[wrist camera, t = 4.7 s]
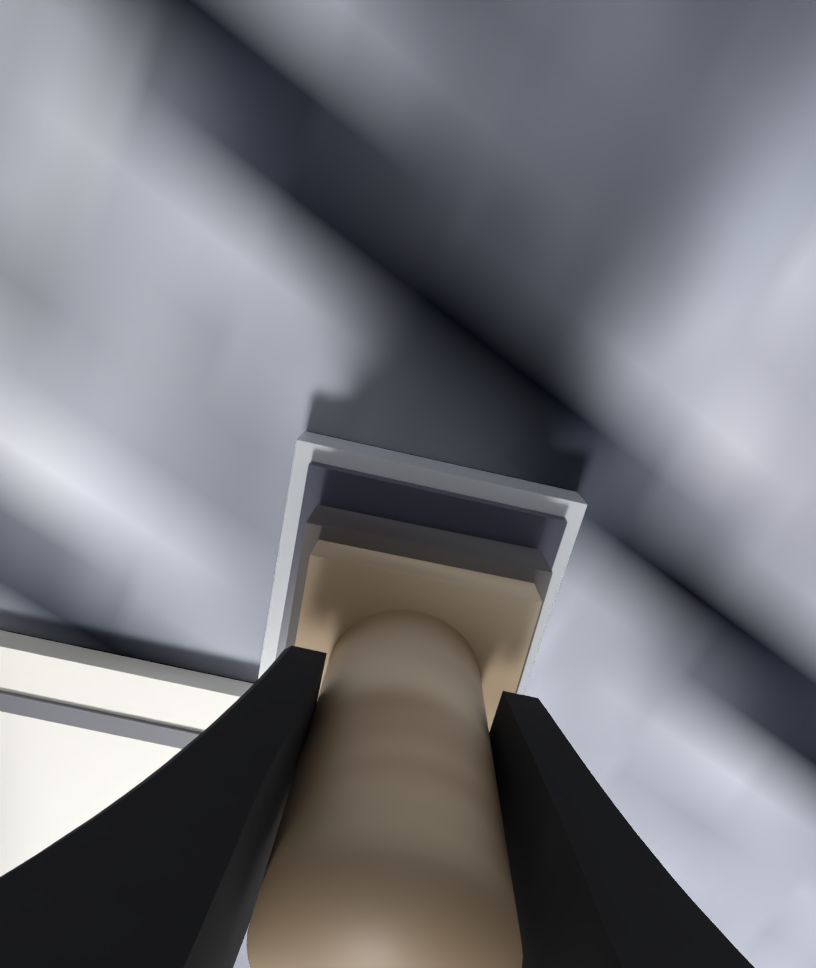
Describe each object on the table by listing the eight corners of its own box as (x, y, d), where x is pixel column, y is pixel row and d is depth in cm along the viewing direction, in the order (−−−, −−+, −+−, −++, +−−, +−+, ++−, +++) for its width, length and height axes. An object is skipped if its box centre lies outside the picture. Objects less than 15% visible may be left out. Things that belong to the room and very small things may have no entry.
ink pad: (503, 714, 15) (509, 747, 14) (266, 664, 15) (253, 693, 14) (577, 491, 13) (591, 509, 12) (305, 431, 13) (293, 442, 12)
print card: (227, 957, 18) (220, 981, 18) (-71, 897, 18) (-90, 920, 18) (274, 688, 15) (266, 705, 15) (-89, 611, 15) (-114, 625, 14)
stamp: (486, 737, 13) (547, 1143, 7) (285, 697, 13) (139, 1068, 7) (540, 549, 12) (682, 820, 5) (317, 504, 12) (176, 721, 5)
